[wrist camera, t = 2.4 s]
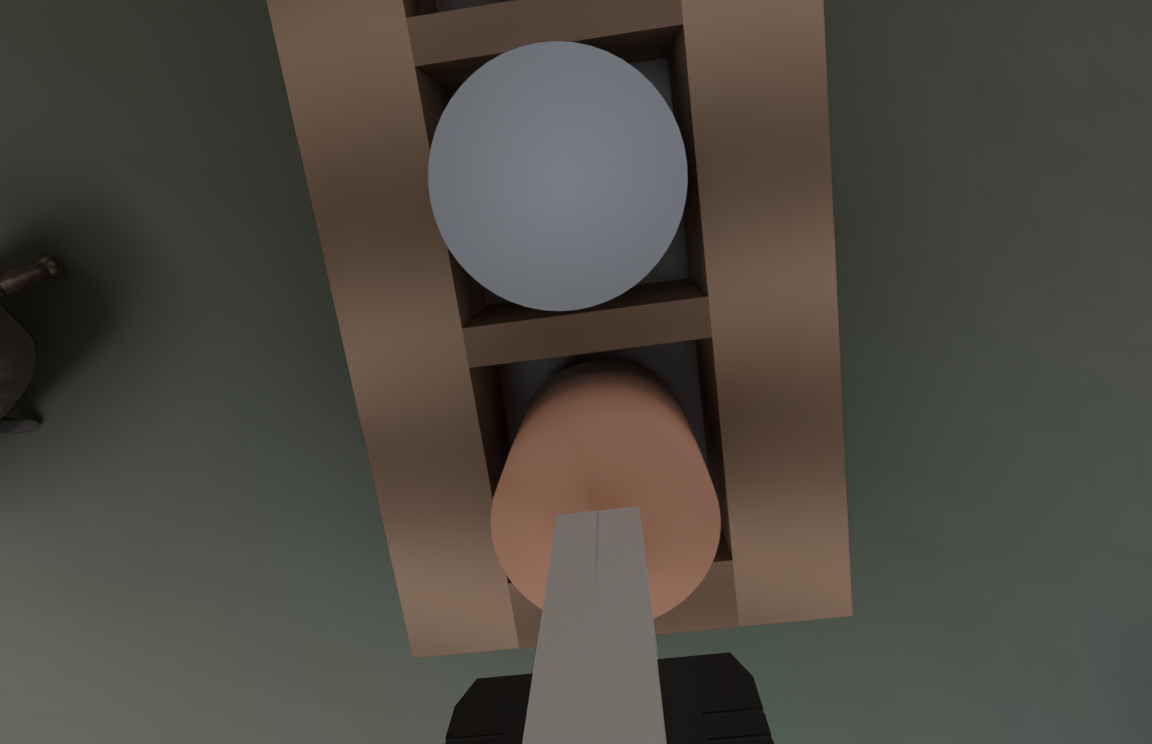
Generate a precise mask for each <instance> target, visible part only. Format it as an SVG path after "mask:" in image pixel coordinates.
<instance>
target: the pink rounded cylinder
mask: <svg viewBox="0 0 1152 744" xmlns="http://www.w3.org/2000/svg"><path fill="white" fill-rule="evenodd" d="M636 506H639V508H640V516H641V524H642V532H643V540H644V548H645V556H646V564H647V572H648V580H649V588H650V596H651V604H652V612H653V618H656V617H658V616H660V615H662V614H664V613H666V612H668V611H669V610H671V609H673V608H674V607H676V606H677V605H678V604H680V603H681V602H682V601H684V600H685V599H686V598H687V597H688V596H689V595H690V594H691V593H692V592H693V591H694V590H695V589H696V588H697V586H698V585H699V584H700V583H701V581H702V580H703V579H704V577H705V575H706V574H707V572H708V570H709V569H710V567H711V564H712V562H713V560H714V557H715V555H716V551H717V548H718V544H719V539H720V530H721V516H720V508H719V503H718V498H717V495H716V492H715V489H714V486H713V483H712V481H711V478H710V476H709V473H708V470H707V468H706V465H705V462H704V460H703V457H702V455H701V452H700V449H699V447H698V444H697V441H696V439H695V436H694V434H693V431H692V428H691V426H690V423H689V420H688V418H687V415H686V413H685V410H684V408H683V406H682V404H681V402H680V401H679V399H678V398H677V396H676V395H675V393H674V392H673V391H672V390H671V389H670V388H669V387H668V386H667V385H666V384H665V383H664V382H663V381H662V380H661V379H659V378H658V377H657V376H655V375H654V374H652V373H651V372H649V371H647V370H645V369H643V368H641V367H639V366H636V365H633V364H630V363H626V362H621V361H614V360H595V361H589V362H583V363H580V364H577V365H574V366H571V367H569V368H566V369H564V370H562V371H560V372H559V373H557V374H556V375H554V376H553V377H551V378H550V379H549V380H548V381H546V382H545V383H544V384H543V385H542V386H541V387H540V388H539V389H538V391H537V392H536V393H535V394H534V396H533V397H532V399H531V400H530V402H529V403H528V405H527V408H526V410H525V412H524V414H523V417H522V420H521V422H520V425H519V428H518V431H517V433H516V436H515V439H514V442H513V444H512V447H511V450H510V453H509V455H508V458H507V461H506V464H505V466H504V469H503V472H502V475H501V477H500V480H499V483H498V486H497V489H496V492H495V495H494V498H493V503H492V509H491V533H492V540H493V544H494V548H495V552H496V555H497V557H498V560H499V562H500V564H501V566H502V568H503V570H504V571H505V573H506V575H507V577H508V578H509V579H510V581H511V582H512V583H513V585H514V586H515V587H516V588H517V589H518V590H519V591H520V592H521V593H522V594H523V595H524V596H525V597H526V598H527V599H528V600H529V601H531V602H532V603H533V604H535V605H536V606H537V607H539V608H540V609H543V603H544V596H545V589H546V583H547V576H548V569H549V563H550V556H551V550H552V543H553V536H554V530H555V523H556V516H557V515H563V514H572V513H581V512H590V511H599V510H609V509H618V508H627V507H636Z"/></svg>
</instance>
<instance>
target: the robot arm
mask: <svg viewBox="0 0 1152 744" xmlns="http://www.w3.org/2000/svg"><path fill="white" fill-rule="evenodd" d="M446 744H774V742H773V740H772V738H771V732H770V729H769V726H768V723H767V720H766V716H765V713H764V712H763V707H762V703H761V700H760V697H759V694H758V691H757V687H756V684H755V681H754V678H753V676H752V675H751V674H750V673H749V672H748V671H747V670H746V669H745V668H744V667H743V666H742V665H741V664H740V662H739V661H738V660H737V659H736V658H735V657H734V656H733V655H732V654H731V653H719V654H709V655H698V656H687V657H677V658H666V659H658V653H657V644H656V636H655V628H654V620H653V612H652V604H651V596H650V588H649V580H648V572H647V564H646V556H645V548H644V540H643V532H642V524H641V516H640V508H639V506H636V507H627V508H618V509H609V510H599V511H590V512H581V513H572V514H563V515H557V516H556V523H555V530H554V536H553V543H552V550H551V556H550V563H549V569H548V576H547V583H546V589H545V596H544V603H543V609H542V616H541V622H540V629H539V636H538V642H537V649H536V655H535V662H534V669H533V674H523V675H512V676H501V677H490V678H480V679H476V681H475V682H474V683H473V684H472V686H471V687H470V688H469V689H468V691H467V692H466V693H465V694H464V696H463V697H462V698H461V699H460V701H459V702H458V703H457V704H456V705H455V707H454V711H453V714H452V718H451V721H450V724H449V728H448V731H447V734H446Z"/></svg>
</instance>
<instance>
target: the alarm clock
mask: <svg viewBox="0 0 1152 744" xmlns="http://www.w3.org/2000/svg"><path fill="white" fill-rule="evenodd" d="M62 272H63V264H62V262H61V261H59V260H58V259H56V258H55V257H54V256H52V255H46V256H43V257H42V258H41V259H40V260H39V261H38V262H37V263H36V264H32V265H28V266H23V267H19V268H14V269H11V270H8V271H6V272H4V273H2V274H0V433H10V432H13V433H21V432H31V431H33V430H35V429H36V428H37V427H38V426H39V422H38V421H36V420H31V419H19V418H11V417H3V416H4V415H5V414H6V413H7V412H8V411H9V410H10V409H11V408H12V407H13V406H14V404H15V403H16V402H17V401H18V400H19V398H20V397H21V396H22V395H23V393H24V391H25V390H26V388H27V386H28V384H29V383H30V381H31V379H32V376H33V373H34V369H35V363H36V357H35V350H34V345H33V341H32V338H31V337H30V335H29V334H28V333H27V332H26V331H25V330H24V329H23V328H22V327H21V326H20V325H19V324H18V323H17V322H16V321H15V320H14V319H13V318H12V317H11V316H10V315H9V314H8V313H7V312H6V311H5V310H4V308H3V307H2V306H1V304H2V303H4V302H5V301H7V300H9V299H11V298H13V297H15V296H17V295H19V294H21V293H23V292H24V291H26V290H27V289H29V288H30V287H31V286H33V285H34V284H35V283H37V282H38V281H39V280H40V279H41V278H43V277H48V278H53V277H57V276H58V275H60V274H61V273H62Z"/></svg>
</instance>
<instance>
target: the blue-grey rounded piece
mask: <svg viewBox="0 0 1152 744" xmlns="http://www.w3.org/2000/svg"><path fill="white" fill-rule="evenodd" d="M687 183H688V175H687V160H686V153H685V147H684V143H683V140H682V136H681V133H680V130H679V127H678V125H677V123H676V120H675V118H674V116H673V114H672V112H671V110H670V108H669V107H668V105H667V103H666V102H665V100H664V98H663V97H662V96H661V94H660V93H659V92H658V91H657V89H656V88H655V87H654V86H653V84H652V83H651V82H650V81H649V80H648V79H647V78H646V77H645V76H643V75H642V74H641V73H640V72H639V71H638V70H637V69H635V68H634V67H633V66H631V65H630V64H628V63H627V62H626V61H624V60H623V59H621V58H619V57H617V56H615V55H613V54H611V53H609V52H607V51H604V50H601V49H599V48H596V47H593V46H590V45H585V44H580V43H575V42H562V41H551V42H540V43H534V44H530V45H525V46H521V47H518V48H516V49H513V50H510V51H508V52H505V53H503V54H501V55H499V56H498V57H496V58H494V59H492V60H490V61H489V62H487V63H486V64H485V65H483V66H482V67H481V68H479V69H478V70H477V71H475V72H474V73H473V74H472V75H471V76H470V77H469V78H468V79H467V80H466V81H465V82H464V83H463V84H462V85H461V86H460V88H459V89H458V90H457V92H456V93H455V94H454V96H453V97H452V98H451V100H450V101H449V103H448V105H447V107H446V108H445V110H444V112H443V114H442V116H441V118H440V120H439V123H438V125H437V128H436V130H435V134H434V137H433V141H432V145H431V149H430V157H429V164H428V186H429V194H430V202H431V206H432V210H433V214H434V218H435V220H436V223H437V225H438V228H439V231H440V233H441V235H442V237H443V239H444V241H445V243H446V245H447V246H448V248H449V250H450V251H451V253H452V254H453V255H454V257H455V258H456V260H457V261H458V263H459V264H460V265H461V266H462V267H463V268H464V269H465V270H466V271H467V272H468V273H469V275H471V276H472V277H473V278H474V279H475V280H476V281H478V282H479V283H480V284H481V285H482V286H484V287H485V288H487V289H488V290H490V291H491V292H493V293H494V294H496V295H498V296H500V297H502V298H504V299H506V300H508V301H510V302H513V303H516V304H519V305H522V306H525V307H529V308H534V309H539V310H548V311H569V310H578V309H583V308H588V307H592V306H595V305H598V304H601V303H604V302H607V301H609V300H611V299H613V298H615V297H617V296H619V295H621V294H623V293H624V292H626V291H627V290H629V289H630V288H632V287H633V286H635V285H636V284H637V283H638V282H639V281H640V280H642V279H643V278H644V277H645V276H646V275H647V274H648V273H649V272H650V271H651V270H652V269H653V268H654V267H655V265H656V264H657V263H658V262H659V261H660V259H661V258H662V256H663V255H664V253H665V252H666V251H667V249H668V248H669V246H670V244H671V242H672V240H673V238H674V236H675V234H676V232H677V229H678V226H679V223H680V221H681V218H682V215H683V210H684V206H685V201H686V194H687Z"/></svg>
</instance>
